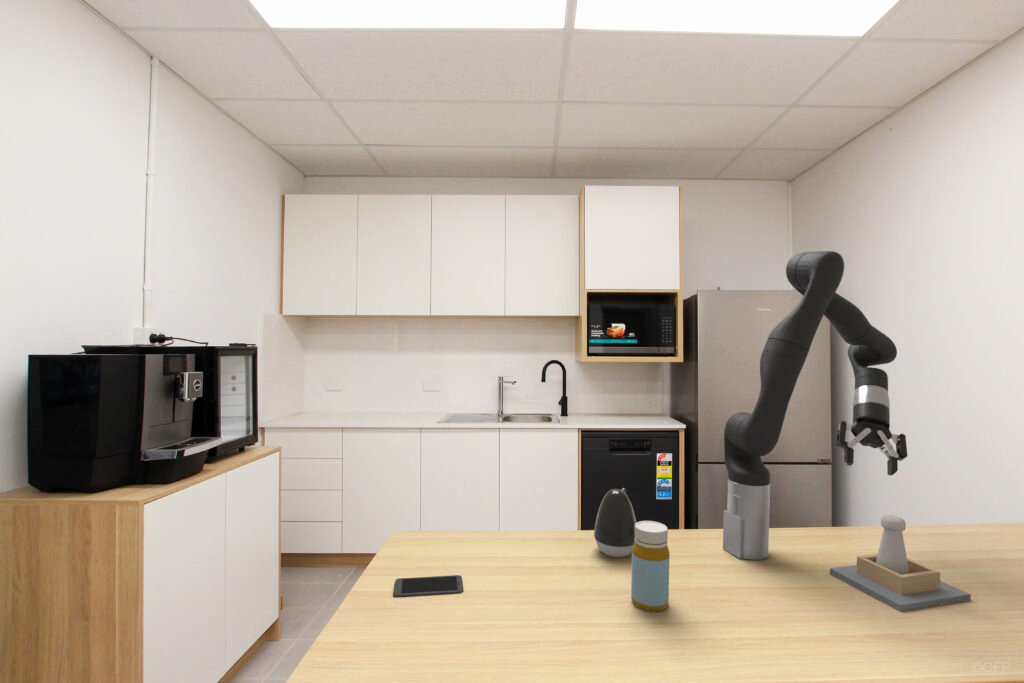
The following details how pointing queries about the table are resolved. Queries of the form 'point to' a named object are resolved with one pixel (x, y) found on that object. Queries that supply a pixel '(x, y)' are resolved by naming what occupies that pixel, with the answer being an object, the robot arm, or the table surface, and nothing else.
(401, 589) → the cell phone
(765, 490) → the robot arm
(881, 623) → the table surface
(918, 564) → the holder
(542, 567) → the table surface
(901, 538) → the salt shaker
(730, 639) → the table surface
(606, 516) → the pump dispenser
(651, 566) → the bottle
